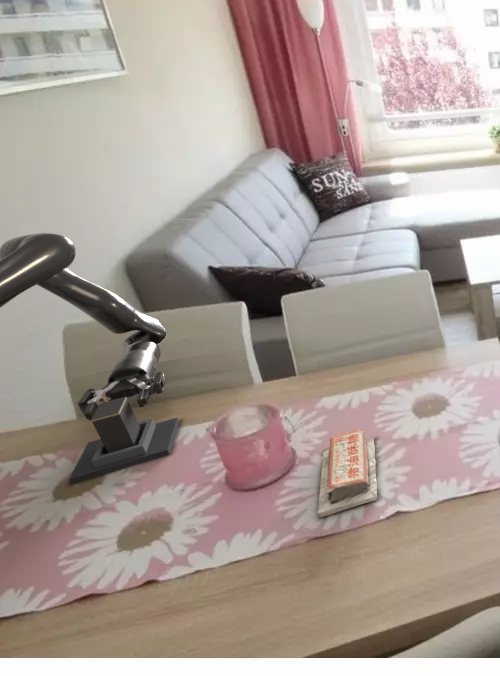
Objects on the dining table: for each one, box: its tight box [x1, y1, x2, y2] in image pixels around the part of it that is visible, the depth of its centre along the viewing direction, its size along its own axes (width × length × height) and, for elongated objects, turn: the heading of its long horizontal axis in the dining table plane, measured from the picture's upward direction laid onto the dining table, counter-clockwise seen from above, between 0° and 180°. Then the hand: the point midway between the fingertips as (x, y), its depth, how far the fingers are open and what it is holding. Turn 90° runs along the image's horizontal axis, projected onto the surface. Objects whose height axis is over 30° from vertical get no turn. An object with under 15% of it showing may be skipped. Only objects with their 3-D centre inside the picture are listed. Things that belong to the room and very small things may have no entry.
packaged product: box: [317, 429, 378, 518], centre depth 105 cm, size 18×5×10 cm
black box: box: [91, 397, 143, 453], centre depth 112 cm, size 4×6×10 cm
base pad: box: [68, 417, 180, 485], centre depth 114 cm, size 16×12×4 cm
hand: (115, 410), depth 113 cm, fingers open, 8 cm apart
